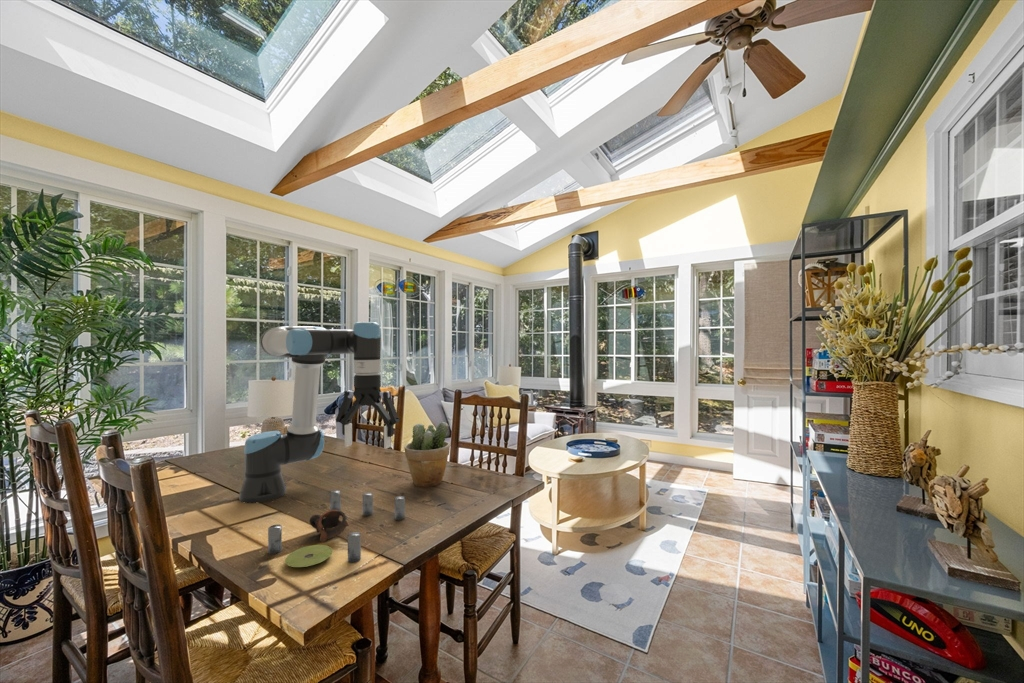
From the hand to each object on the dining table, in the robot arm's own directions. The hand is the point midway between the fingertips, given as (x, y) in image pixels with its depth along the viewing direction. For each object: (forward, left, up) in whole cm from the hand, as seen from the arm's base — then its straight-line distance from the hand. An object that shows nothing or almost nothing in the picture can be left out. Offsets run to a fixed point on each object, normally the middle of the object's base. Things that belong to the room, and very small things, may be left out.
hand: (367, 446), depth 123 cm
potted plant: (-1, +47, -27) cm, 54 cm away
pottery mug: (-13, -1, -28) cm, 30 cm away
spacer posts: (-12, 0, -26) cm, 29 cm away
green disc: (-7, -16, -27) cm, 32 cm away
